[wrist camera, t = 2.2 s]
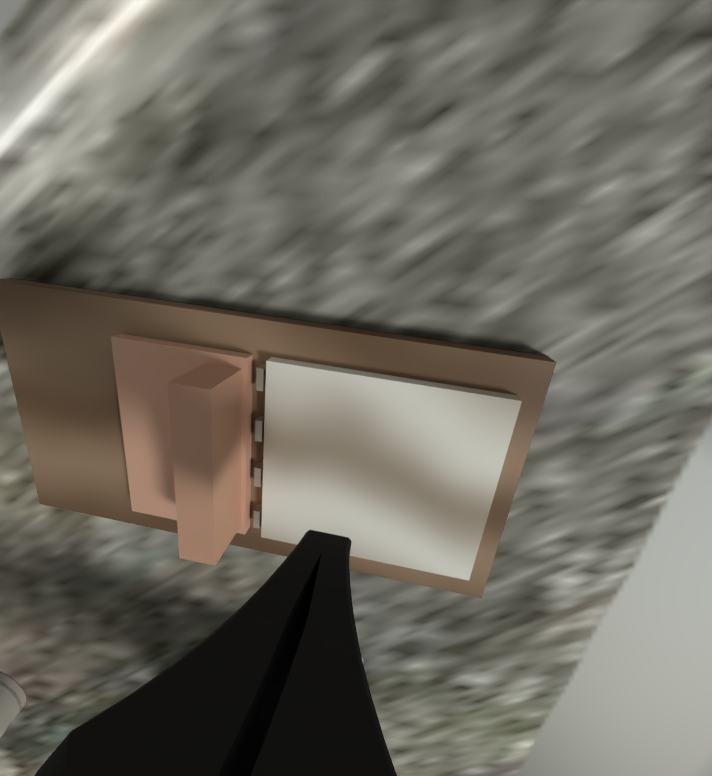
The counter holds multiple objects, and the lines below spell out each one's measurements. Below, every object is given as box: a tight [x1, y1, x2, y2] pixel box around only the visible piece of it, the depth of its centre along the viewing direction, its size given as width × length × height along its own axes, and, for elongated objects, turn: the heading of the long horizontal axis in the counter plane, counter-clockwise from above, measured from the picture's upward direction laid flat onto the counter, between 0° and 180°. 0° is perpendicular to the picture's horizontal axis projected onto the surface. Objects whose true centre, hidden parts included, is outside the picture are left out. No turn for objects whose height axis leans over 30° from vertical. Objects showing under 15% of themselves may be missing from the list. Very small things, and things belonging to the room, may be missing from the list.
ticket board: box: [0, 278, 556, 598], centre depth 17 cm, size 12×24×2 cm, turn 84°
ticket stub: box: [111, 334, 253, 566], centre depth 16 cm, size 9×6×3 cm, turn 174°
